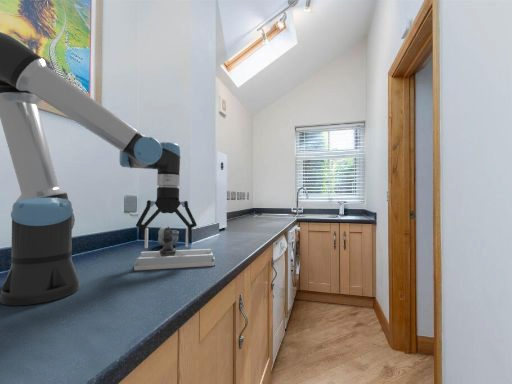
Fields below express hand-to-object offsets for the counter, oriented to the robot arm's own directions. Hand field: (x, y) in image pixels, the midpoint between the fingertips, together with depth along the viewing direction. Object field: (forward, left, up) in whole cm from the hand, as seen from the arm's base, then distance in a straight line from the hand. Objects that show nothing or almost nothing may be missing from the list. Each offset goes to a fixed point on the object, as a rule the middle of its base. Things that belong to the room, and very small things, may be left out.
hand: (166, 247), depth 96 cm
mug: (-2, +33, -6) cm, 34 cm away
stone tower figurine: (0, 0, -5) cm, 5 cm away
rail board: (+3, 0, -6) cm, 7 cm away
